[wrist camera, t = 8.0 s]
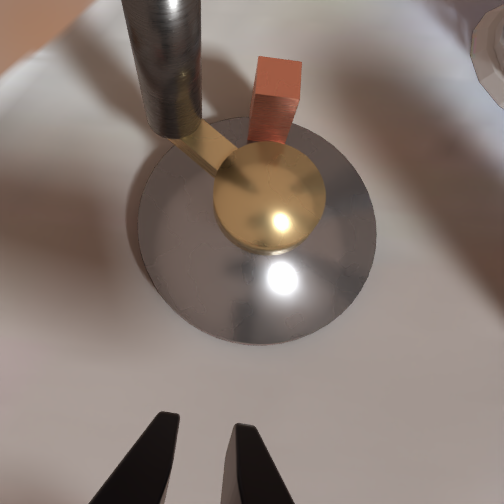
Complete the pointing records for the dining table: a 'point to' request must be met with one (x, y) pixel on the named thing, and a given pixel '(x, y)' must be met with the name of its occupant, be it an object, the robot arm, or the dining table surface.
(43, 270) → the dining table surface
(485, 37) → the french press
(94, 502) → the robot arm
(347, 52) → the dining table surface
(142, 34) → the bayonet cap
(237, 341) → the post base
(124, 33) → the dining table surface
